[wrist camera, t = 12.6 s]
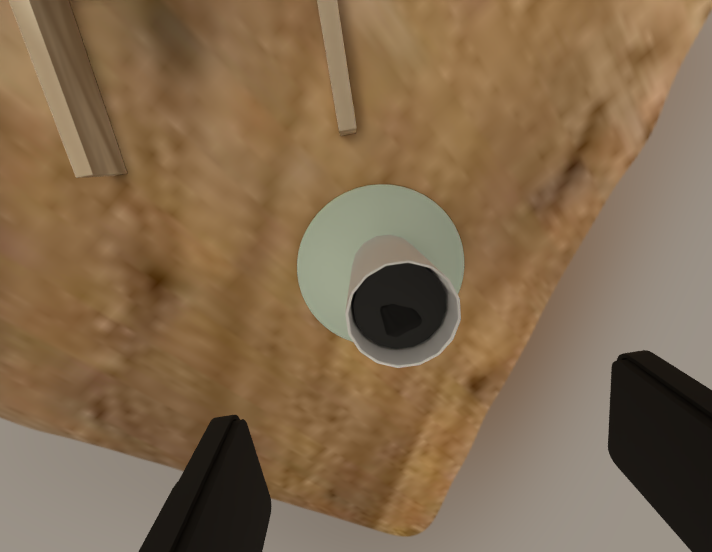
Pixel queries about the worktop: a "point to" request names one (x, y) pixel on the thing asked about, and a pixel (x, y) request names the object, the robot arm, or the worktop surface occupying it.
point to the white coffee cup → (399, 304)
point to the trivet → (358, 225)
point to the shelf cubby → (82, 96)
